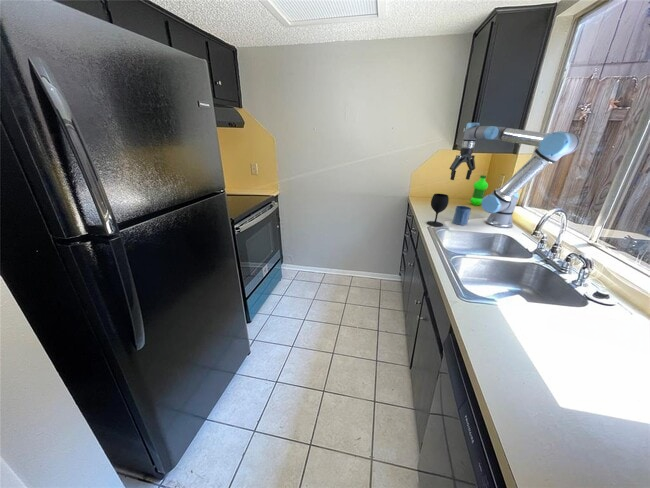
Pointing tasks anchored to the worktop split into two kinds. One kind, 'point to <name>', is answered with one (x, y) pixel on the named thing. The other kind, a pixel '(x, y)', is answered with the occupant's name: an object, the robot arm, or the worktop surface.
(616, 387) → the worktop surface
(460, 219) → the mug
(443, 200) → the wine glass
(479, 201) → the plastic bottle
